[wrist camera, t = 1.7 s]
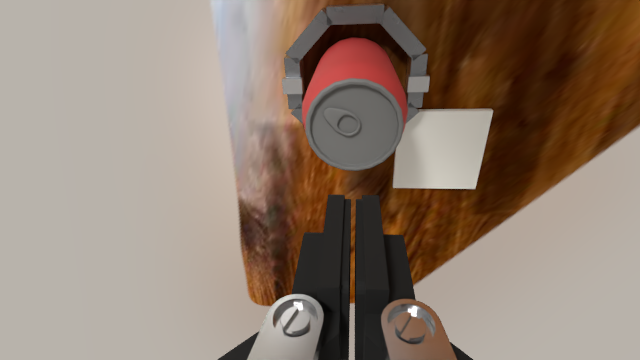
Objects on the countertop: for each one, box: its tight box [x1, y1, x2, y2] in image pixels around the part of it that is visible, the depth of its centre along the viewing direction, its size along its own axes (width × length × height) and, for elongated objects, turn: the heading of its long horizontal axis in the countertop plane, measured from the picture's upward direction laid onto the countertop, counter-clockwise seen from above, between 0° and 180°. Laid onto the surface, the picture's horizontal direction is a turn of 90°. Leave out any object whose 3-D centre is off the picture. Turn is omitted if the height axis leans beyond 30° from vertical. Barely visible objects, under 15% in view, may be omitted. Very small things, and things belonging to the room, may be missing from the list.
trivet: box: [392, 109, 493, 189], centre depth 32 cm, size 8×8×1 cm
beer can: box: [302, 37, 408, 171], centre depth 24 cm, size 7×7×12 cm
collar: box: [282, 3, 430, 123], centre depth 28 cm, size 11×12×3 cm
